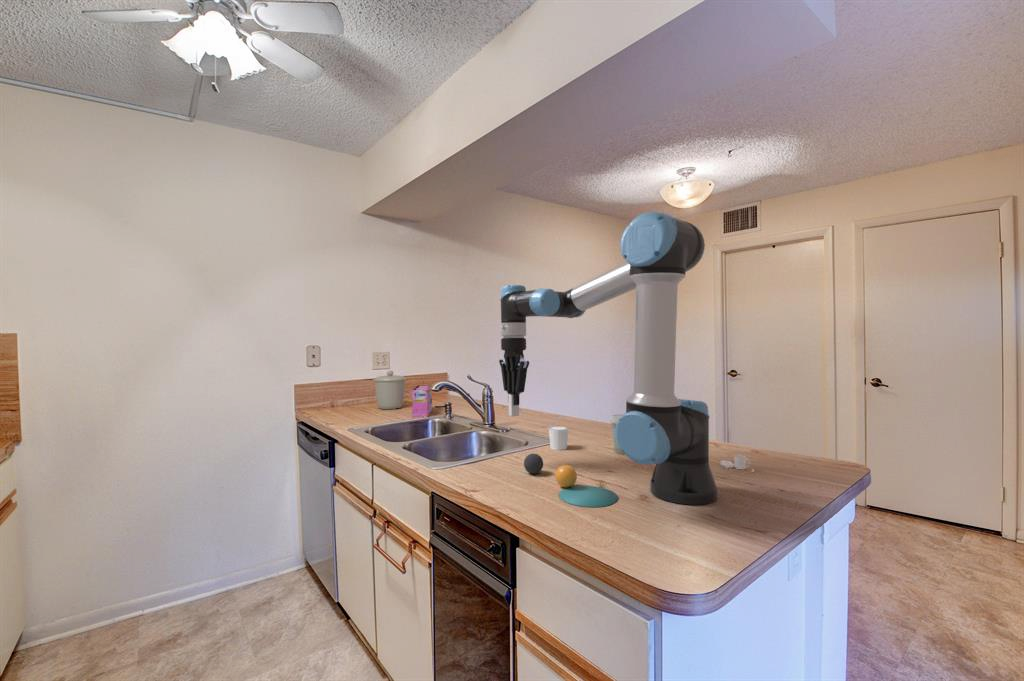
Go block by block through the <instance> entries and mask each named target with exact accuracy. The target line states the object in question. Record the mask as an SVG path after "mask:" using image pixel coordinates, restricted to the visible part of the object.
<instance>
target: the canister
mask: <svg viewBox="0 0 1024 681" xmlns="http://www.w3.org/2000/svg"><path fill="white" fill-rule="evenodd" d="M372 380H373V381H374V387H375V388H374V389H375V398H376V403H377V404H376V405H377V407H378V408H379V409H381V410H398V409H401V408H402V407H403V404H404V401H405V400H404V399H405V388H406V380H407V377H405V376H403V375H397V374H396V375H394V371H393V370H387V372H386V375H381V376H380V375H379V376H377V377H375V378H374V379H372ZM397 408H398V409H397Z"/></svg>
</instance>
